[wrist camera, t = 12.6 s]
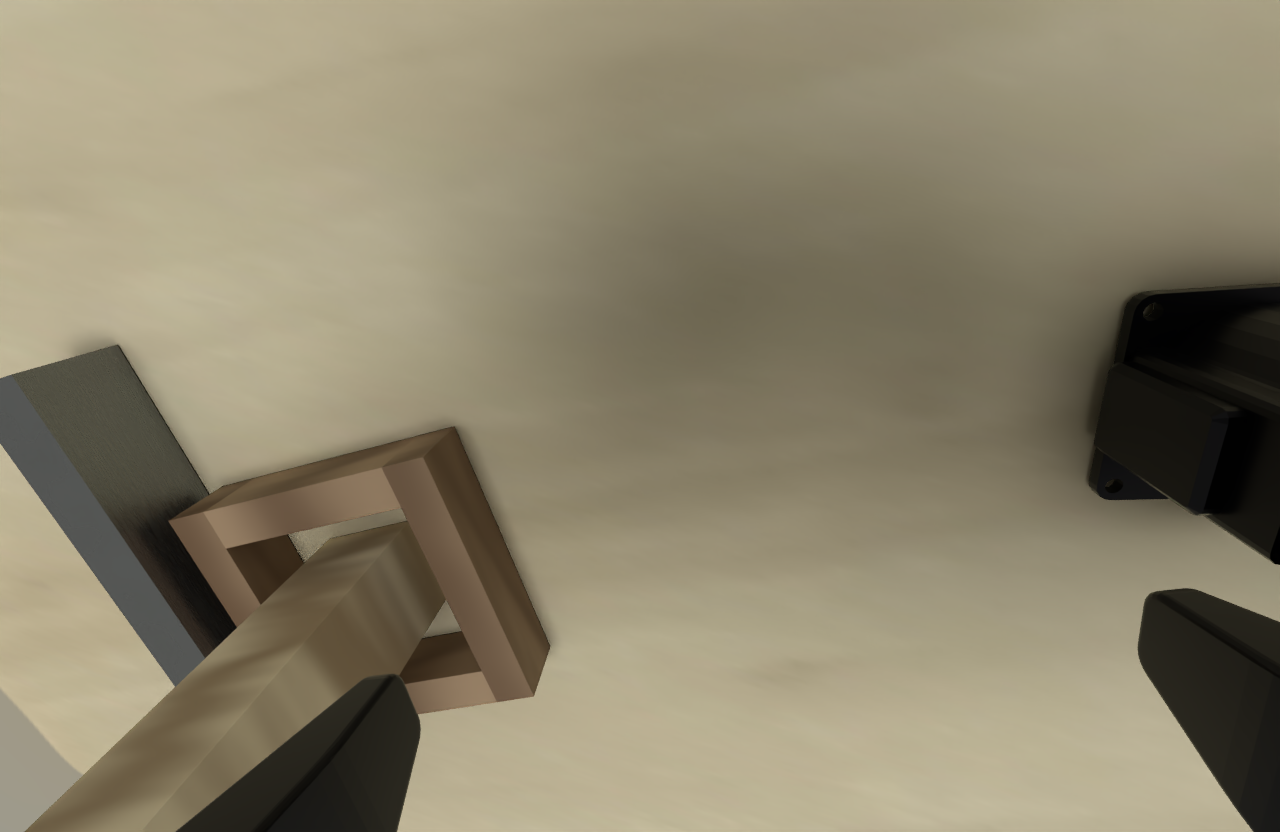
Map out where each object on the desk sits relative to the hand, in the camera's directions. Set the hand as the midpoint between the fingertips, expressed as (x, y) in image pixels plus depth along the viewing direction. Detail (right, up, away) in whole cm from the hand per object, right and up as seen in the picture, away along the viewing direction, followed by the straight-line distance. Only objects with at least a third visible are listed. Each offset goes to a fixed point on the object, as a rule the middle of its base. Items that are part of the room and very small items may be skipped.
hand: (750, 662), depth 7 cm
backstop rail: (-18, -5, +18) cm, 25 cm away
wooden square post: (-11, -3, +16) cm, 20 cm away
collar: (-11, -3, +16) cm, 20 cm away
